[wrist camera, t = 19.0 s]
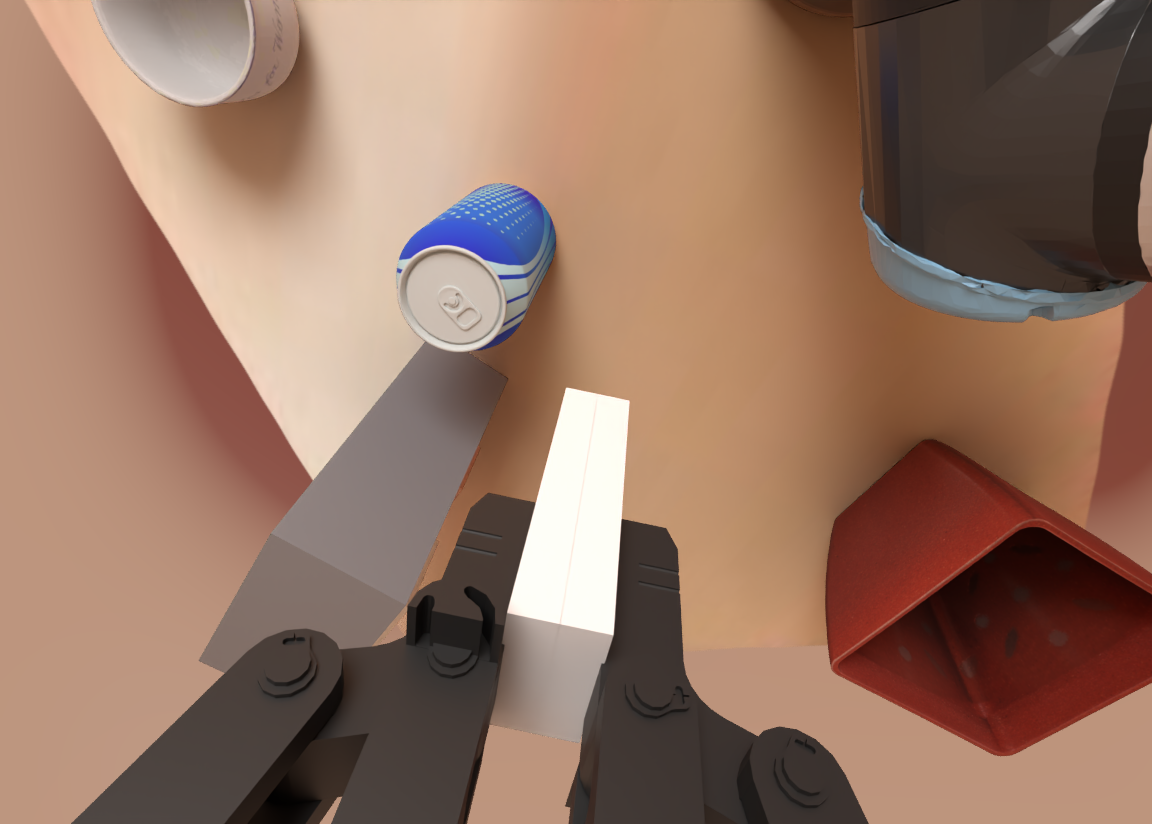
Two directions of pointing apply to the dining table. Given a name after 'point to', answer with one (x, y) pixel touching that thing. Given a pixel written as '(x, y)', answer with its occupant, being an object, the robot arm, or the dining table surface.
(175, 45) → the teacup
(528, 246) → the beer can
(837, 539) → the plant pot
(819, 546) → the dining table surface
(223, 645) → the button post
